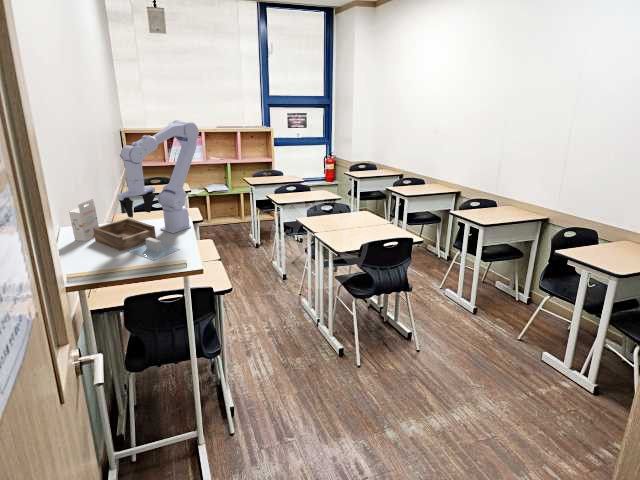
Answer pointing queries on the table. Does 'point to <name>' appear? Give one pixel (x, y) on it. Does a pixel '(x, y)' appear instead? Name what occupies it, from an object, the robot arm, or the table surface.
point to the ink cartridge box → (84, 221)
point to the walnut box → (124, 234)
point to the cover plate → (153, 254)
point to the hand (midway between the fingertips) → (139, 214)
